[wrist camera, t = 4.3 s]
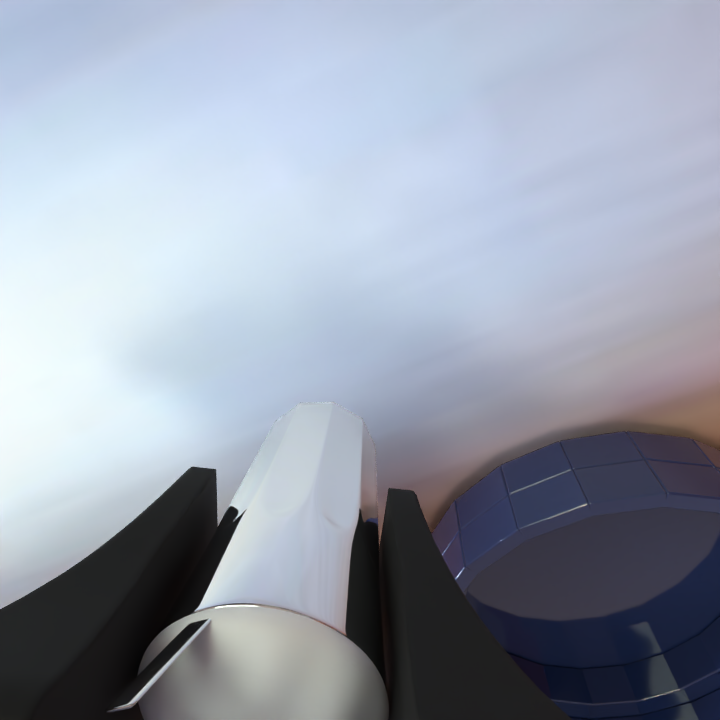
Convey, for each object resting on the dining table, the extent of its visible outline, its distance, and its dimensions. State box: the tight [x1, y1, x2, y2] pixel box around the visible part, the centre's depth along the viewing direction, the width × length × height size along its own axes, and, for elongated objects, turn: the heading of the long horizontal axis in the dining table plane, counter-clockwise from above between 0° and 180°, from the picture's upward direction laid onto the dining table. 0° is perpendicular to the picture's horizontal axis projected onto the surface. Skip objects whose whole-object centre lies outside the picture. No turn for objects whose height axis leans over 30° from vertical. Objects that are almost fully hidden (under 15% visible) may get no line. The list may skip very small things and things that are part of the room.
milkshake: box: [105, 402, 389, 720], centre depth 13 cm, size 4×5×10 cm
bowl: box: [432, 431, 720, 720], centre depth 22 cm, size 15×15×4 cm
